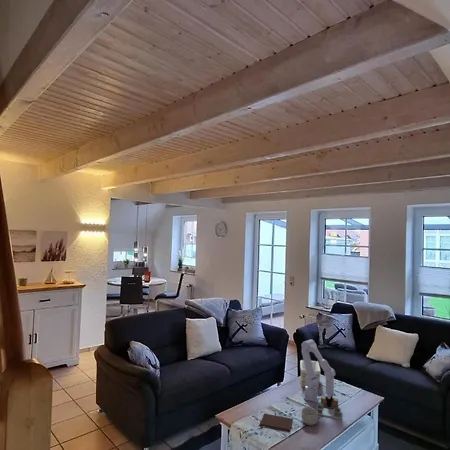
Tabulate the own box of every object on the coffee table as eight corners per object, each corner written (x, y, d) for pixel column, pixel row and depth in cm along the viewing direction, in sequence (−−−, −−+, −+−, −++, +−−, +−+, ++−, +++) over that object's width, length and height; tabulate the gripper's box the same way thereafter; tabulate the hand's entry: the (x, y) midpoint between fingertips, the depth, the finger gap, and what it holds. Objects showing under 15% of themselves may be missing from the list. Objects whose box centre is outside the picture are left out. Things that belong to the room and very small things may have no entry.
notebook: (264, 415, 242) (264, 412, 242) (292, 420, 236) (292, 417, 236) (259, 426, 228) (259, 423, 228) (289, 432, 222) (289, 429, 222)
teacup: (314, 429, 226) (315, 416, 226) (298, 424, 231) (299, 412, 232) (321, 419, 237) (321, 407, 238) (305, 415, 243) (305, 403, 243)
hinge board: (314, 414, 244) (314, 409, 244) (316, 407, 253) (316, 402, 254) (341, 419, 238) (341, 414, 238) (342, 412, 247) (342, 407, 247)
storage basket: (299, 375, 310) (300, 359, 311) (318, 377, 307) (318, 360, 308) (300, 387, 287) (300, 369, 287) (320, 389, 284) (320, 371, 284)
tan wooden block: (320, 406, 256) (320, 398, 257) (321, 403, 260) (321, 395, 260) (337, 409, 252) (337, 401, 252) (338, 407, 256) (338, 398, 256)
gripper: (334, 390, 248) (334, 410, 248) (335, 382, 262) (335, 400, 261) (324, 389, 251) (324, 408, 250) (326, 381, 264) (325, 399, 264)
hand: (329, 404), depth 256 cm, fingers open, 7 cm apart
